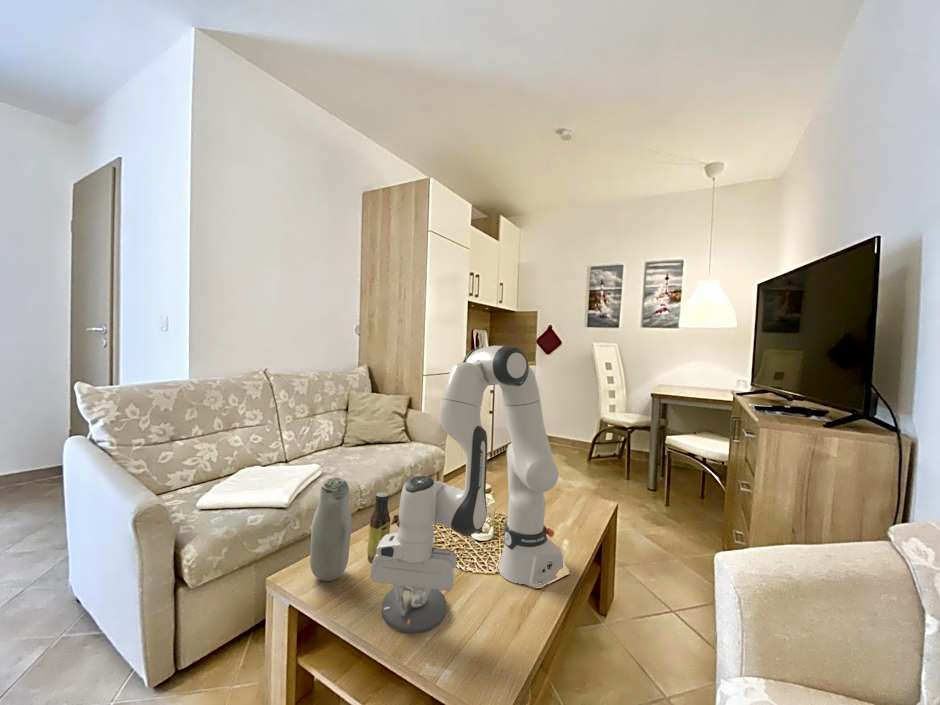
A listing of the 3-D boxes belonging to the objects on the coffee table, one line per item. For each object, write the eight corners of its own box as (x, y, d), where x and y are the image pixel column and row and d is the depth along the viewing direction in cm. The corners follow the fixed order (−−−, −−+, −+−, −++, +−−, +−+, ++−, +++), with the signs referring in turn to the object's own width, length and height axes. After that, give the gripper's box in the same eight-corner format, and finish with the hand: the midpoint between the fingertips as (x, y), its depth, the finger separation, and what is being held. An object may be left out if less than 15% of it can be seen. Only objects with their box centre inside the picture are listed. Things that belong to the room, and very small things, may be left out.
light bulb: (410, 590, 106) (411, 568, 105) (430, 597, 103) (432, 575, 103) (390, 613, 97) (392, 589, 96) (412, 621, 95) (414, 596, 94)
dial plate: (432, 584, 113) (432, 576, 112) (455, 623, 98) (456, 614, 98) (375, 597, 105) (375, 589, 105) (391, 641, 91) (392, 631, 91)
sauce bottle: (382, 565, 120) (387, 500, 119) (363, 561, 121) (367, 497, 120) (391, 554, 126) (395, 492, 125) (372, 550, 127) (377, 489, 127)
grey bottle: (301, 581, 109) (307, 481, 108) (326, 563, 119) (333, 470, 118) (330, 592, 106) (337, 488, 105) (354, 572, 115) (361, 476, 114)
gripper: (458, 543, 99) (454, 598, 100) (378, 534, 101) (374, 587, 101) (456, 557, 93) (451, 615, 94) (370, 547, 94) (366, 604, 95)
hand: (410, 601), depth 97 cm, fingers open, 4 cm apart
